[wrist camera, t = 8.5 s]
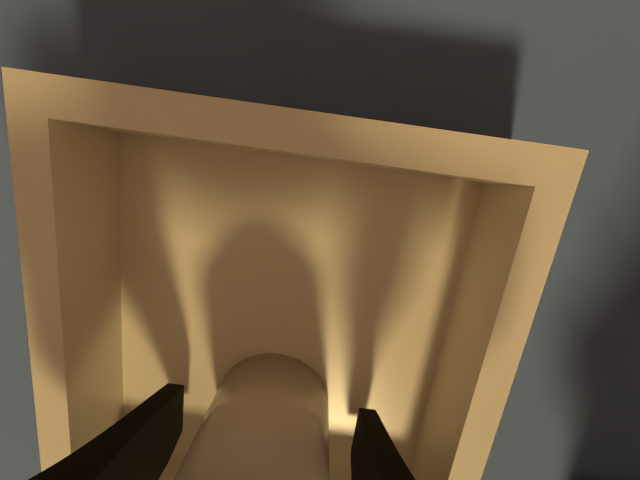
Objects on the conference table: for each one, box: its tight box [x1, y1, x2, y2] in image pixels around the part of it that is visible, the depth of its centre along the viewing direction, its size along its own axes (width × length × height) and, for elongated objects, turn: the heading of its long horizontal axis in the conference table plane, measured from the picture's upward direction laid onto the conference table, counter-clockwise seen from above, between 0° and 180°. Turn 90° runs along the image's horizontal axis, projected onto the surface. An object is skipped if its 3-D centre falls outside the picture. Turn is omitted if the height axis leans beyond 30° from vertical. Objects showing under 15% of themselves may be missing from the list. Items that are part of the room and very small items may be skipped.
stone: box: [174, 353, 330, 480], centre depth 10 cm, size 4×4×4 cm
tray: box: [1, 67, 589, 480], centre depth 10 cm, size 14×15×3 cm
